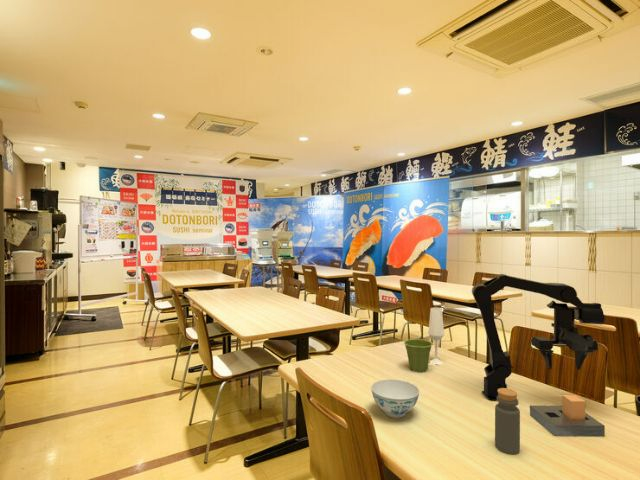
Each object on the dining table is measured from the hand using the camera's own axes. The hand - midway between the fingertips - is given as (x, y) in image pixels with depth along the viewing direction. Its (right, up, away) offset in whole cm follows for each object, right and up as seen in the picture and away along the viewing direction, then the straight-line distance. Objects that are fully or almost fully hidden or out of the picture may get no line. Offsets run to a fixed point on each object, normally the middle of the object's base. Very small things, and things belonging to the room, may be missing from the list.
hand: (563, 369), depth 119 cm
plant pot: (-39, -12, +33) cm, 53 cm away
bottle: (-31, -12, -24) cm, 41 cm away
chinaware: (-57, -12, -5) cm, 58 cm away
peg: (-6, -12, -13) cm, 18 cm away
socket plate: (-8, -12, -13) cm, 19 cm away
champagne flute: (-29, -12, +41) cm, 52 cm away
